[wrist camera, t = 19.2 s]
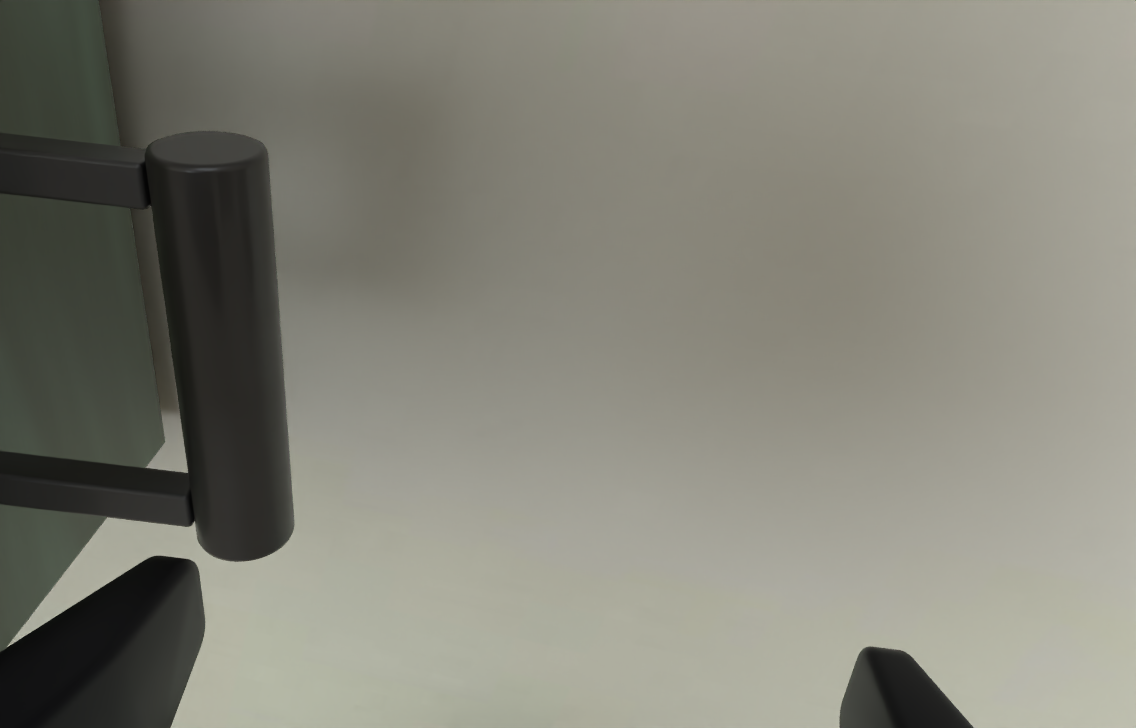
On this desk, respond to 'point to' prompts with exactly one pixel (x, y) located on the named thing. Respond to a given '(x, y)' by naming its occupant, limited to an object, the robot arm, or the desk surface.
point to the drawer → (126, 319)
